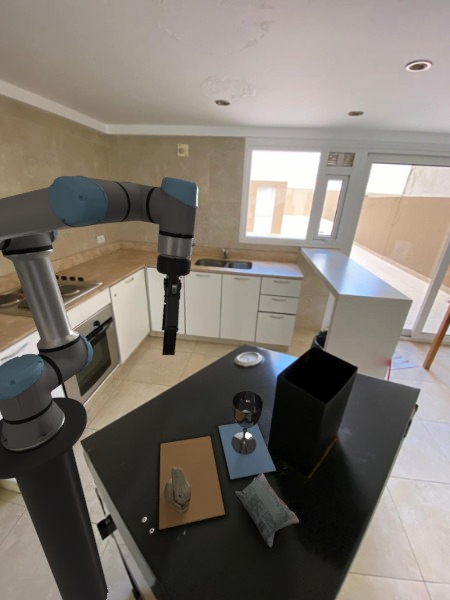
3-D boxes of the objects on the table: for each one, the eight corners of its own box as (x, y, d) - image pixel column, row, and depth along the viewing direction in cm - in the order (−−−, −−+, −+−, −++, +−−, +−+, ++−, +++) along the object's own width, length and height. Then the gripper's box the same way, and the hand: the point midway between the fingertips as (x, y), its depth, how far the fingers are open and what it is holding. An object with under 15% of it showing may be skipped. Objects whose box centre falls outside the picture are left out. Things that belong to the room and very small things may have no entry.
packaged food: (261, 478, 63) (263, 464, 61) (298, 526, 54) (301, 512, 52) (233, 498, 58) (234, 484, 57) (267, 555, 49) (270, 541, 47)
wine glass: (237, 460, 67) (240, 417, 61) (225, 435, 74) (227, 395, 68) (263, 450, 70) (268, 408, 64) (249, 427, 76) (253, 388, 71)
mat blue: (218, 426, 77) (218, 426, 77) (255, 421, 79) (255, 420, 79) (230, 479, 62) (230, 479, 62) (275, 470, 65) (276, 470, 65)
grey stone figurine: (166, 522, 53) (164, 491, 50) (163, 484, 60) (161, 455, 57) (192, 514, 55) (192, 483, 51) (187, 478, 62) (186, 449, 58)
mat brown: (160, 444, 70) (160, 443, 70) (210, 436, 73) (210, 435, 73) (159, 529, 52) (158, 528, 52) (224, 514, 55) (224, 513, 55)
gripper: (199, 271, 46) (187, 369, 53) (186, 247, 68) (179, 318, 75) (156, 267, 44) (150, 369, 51) (157, 244, 66) (153, 317, 73)
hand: (167, 339), depth 63 cm, fingers open, 13 cm apart
